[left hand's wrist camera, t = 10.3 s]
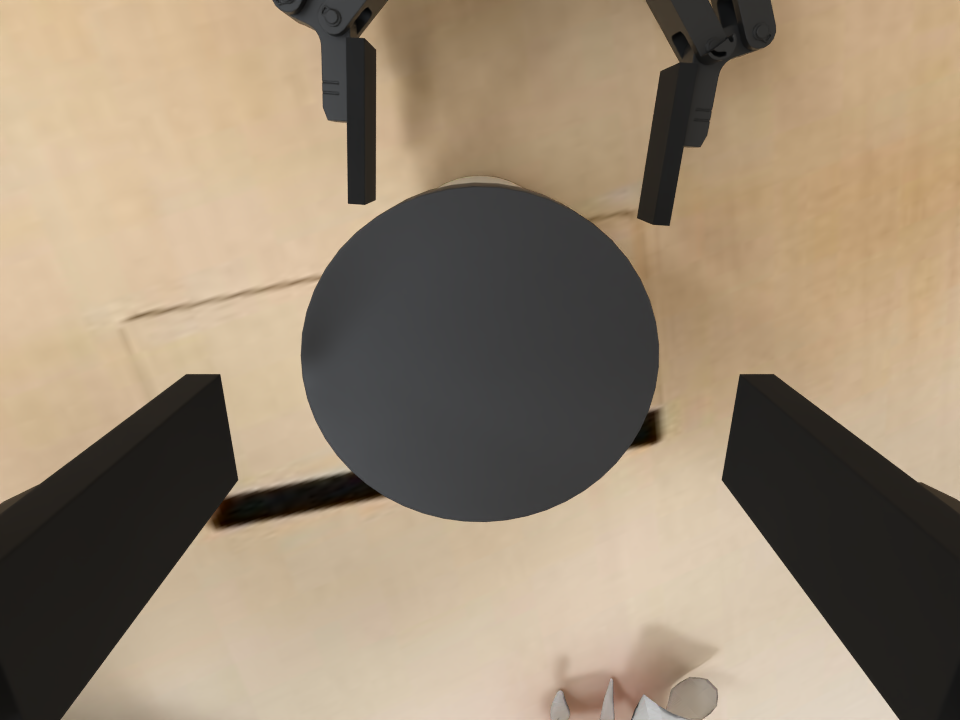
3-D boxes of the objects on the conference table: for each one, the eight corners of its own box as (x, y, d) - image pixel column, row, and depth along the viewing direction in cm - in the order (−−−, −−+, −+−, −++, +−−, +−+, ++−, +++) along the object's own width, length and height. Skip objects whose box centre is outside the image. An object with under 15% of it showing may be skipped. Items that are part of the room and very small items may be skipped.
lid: (697, 255, 17) (725, 268, 15) (562, 521, 20) (571, 560, 19) (373, 126, 16) (358, 123, 14) (285, 432, 19) (263, 463, 17)
